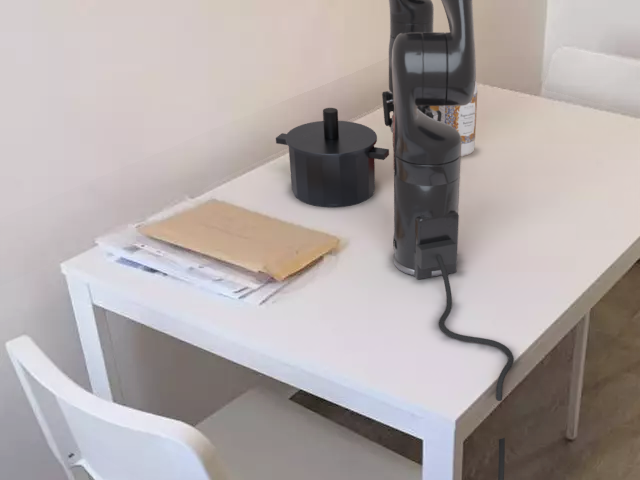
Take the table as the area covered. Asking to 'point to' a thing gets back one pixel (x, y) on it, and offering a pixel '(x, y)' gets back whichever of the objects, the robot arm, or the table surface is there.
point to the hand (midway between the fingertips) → (410, 158)
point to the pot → (333, 176)
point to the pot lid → (331, 137)
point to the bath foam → (462, 122)
